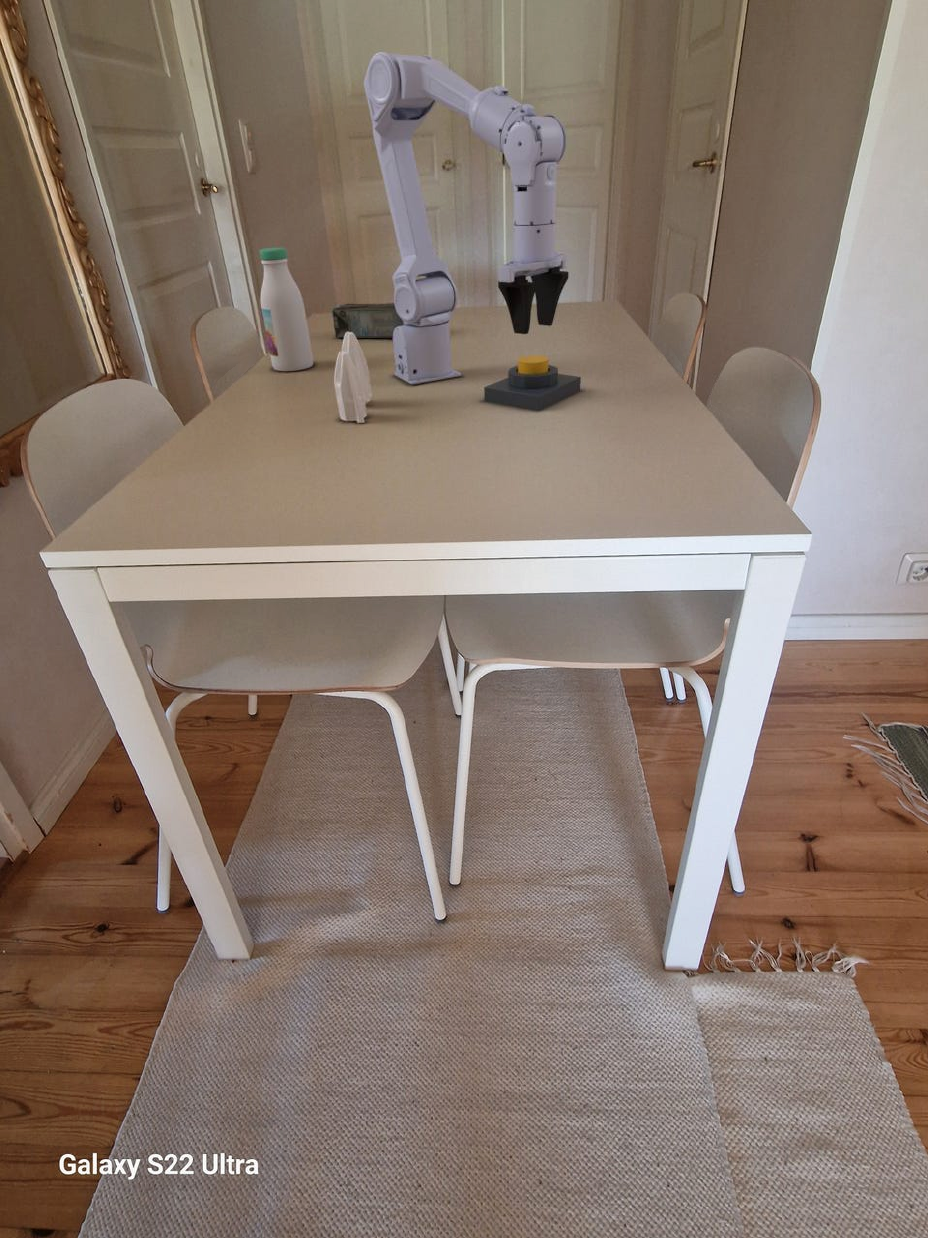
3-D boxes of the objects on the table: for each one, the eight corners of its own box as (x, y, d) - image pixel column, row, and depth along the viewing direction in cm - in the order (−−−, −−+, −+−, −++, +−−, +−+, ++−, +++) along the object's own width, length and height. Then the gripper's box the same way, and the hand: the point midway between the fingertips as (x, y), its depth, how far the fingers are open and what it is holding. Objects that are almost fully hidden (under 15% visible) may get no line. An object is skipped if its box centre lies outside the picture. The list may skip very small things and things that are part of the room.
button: (537, 378, 103) (537, 363, 102) (512, 374, 105) (512, 360, 104) (553, 371, 106) (554, 357, 105) (529, 367, 108) (529, 353, 107)
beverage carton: (349, 330, 156) (345, 299, 153) (428, 332, 152) (426, 299, 148) (334, 338, 150) (329, 306, 147) (416, 340, 145) (414, 306, 142)
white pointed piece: (349, 400, 110) (339, 326, 104) (375, 399, 110) (366, 325, 104) (336, 424, 100) (324, 344, 94) (365, 423, 100) (354, 343, 94)
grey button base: (538, 411, 101) (538, 383, 99) (484, 401, 106) (483, 374, 104) (580, 390, 109) (581, 364, 106) (527, 382, 114) (528, 357, 112)
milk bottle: (318, 361, 133) (300, 245, 122) (307, 371, 127) (286, 249, 116) (280, 362, 134) (258, 246, 123) (267, 372, 128) (243, 251, 117)
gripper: (529, 229, 88) (528, 341, 95) (586, 219, 97) (581, 321, 104) (485, 228, 91) (487, 336, 99) (544, 218, 101) (542, 318, 108)
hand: (533, 328), depth 102 cm, fingers open, 6 cm apart
